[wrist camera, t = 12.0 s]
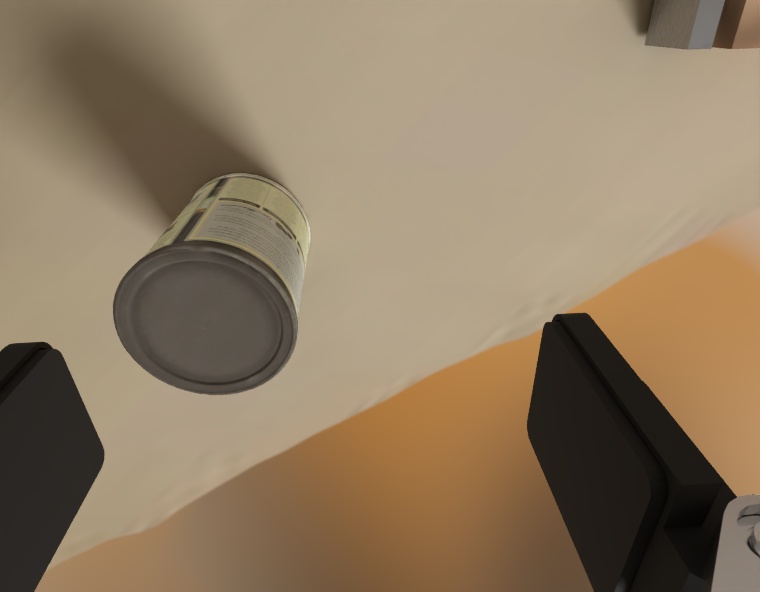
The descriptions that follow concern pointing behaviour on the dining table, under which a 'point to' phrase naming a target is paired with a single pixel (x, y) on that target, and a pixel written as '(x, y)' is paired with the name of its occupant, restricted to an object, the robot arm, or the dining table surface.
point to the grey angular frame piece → (684, 23)
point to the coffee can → (219, 289)
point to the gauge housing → (739, 25)
